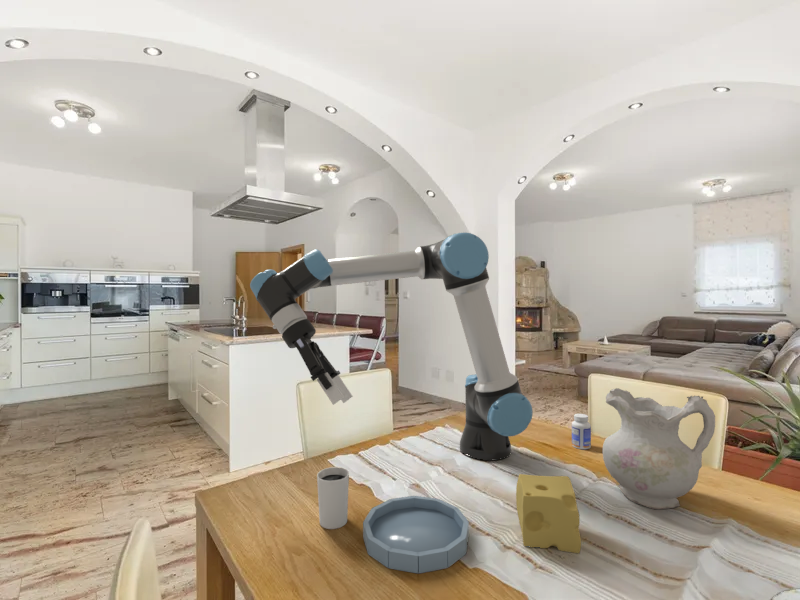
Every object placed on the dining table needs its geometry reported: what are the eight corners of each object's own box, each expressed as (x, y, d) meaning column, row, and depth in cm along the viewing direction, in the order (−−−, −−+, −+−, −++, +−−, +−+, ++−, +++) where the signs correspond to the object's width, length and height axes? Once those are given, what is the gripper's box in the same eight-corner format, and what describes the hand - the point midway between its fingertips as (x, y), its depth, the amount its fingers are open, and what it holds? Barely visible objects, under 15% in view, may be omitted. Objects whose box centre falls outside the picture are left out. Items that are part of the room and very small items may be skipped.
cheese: (581, 555, 74) (581, 500, 74) (520, 547, 77) (520, 495, 76) (569, 523, 85) (569, 475, 84) (515, 517, 87) (515, 471, 87)
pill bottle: (589, 444, 128) (589, 413, 128) (591, 450, 123) (591, 418, 123) (571, 442, 130) (571, 412, 129) (572, 448, 124) (572, 417, 124)
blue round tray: (445, 504, 92) (445, 491, 92) (486, 560, 73) (486, 543, 73) (357, 517, 87) (357, 503, 87) (376, 581, 68) (376, 563, 68)
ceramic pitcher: (692, 489, 101) (689, 387, 102) (733, 527, 82) (728, 401, 83) (596, 479, 106) (594, 383, 108) (614, 513, 88) (611, 395, 89)
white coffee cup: (338, 509, 90) (338, 464, 90) (355, 521, 85) (355, 474, 85) (311, 520, 86) (311, 473, 86) (328, 534, 81) (327, 484, 81)
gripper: (295, 342, 110) (339, 408, 106) (263, 328, 86) (318, 412, 82) (318, 326, 111) (363, 390, 107) (293, 307, 87) (349, 390, 83)
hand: (343, 400), depth 94 cm, fingers open, 13 cm apart
